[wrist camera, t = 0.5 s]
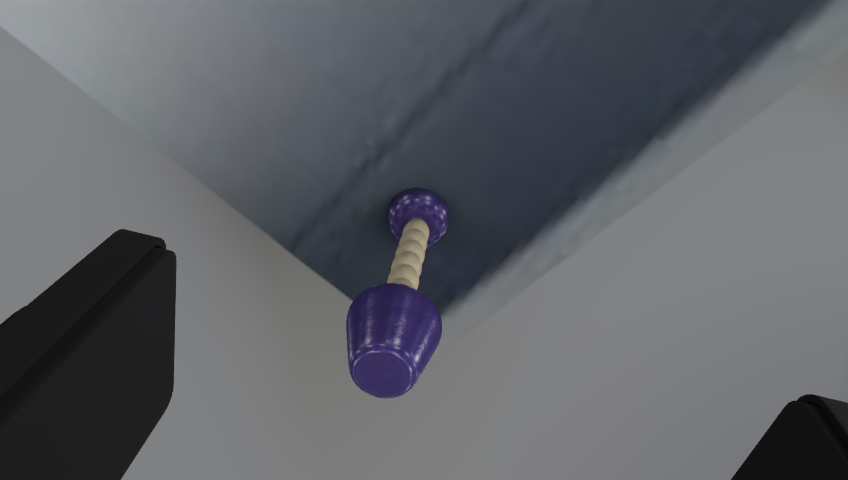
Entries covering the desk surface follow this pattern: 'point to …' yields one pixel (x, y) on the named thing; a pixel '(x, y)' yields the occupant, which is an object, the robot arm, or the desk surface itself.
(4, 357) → the robot arm
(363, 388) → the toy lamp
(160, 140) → the desk surface
